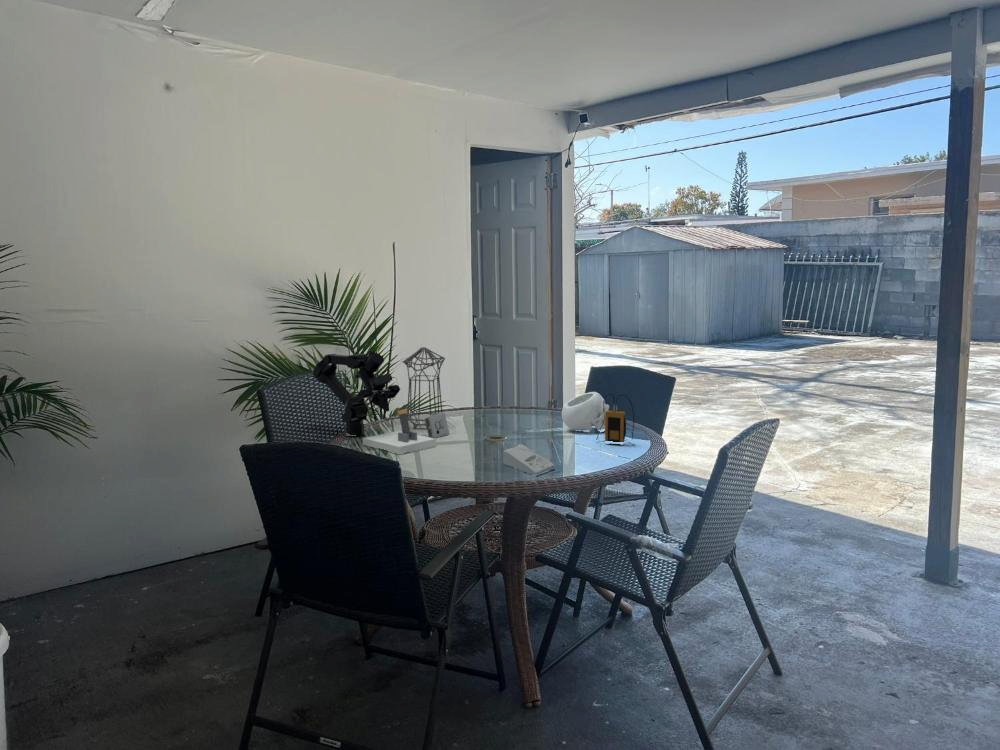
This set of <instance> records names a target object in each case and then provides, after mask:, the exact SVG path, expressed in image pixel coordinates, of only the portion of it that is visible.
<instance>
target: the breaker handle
mask: <svg viewBox="0 0 1000 750" xmlns="http://www.w3.org/2000/svg"><path fill="white" fill-rule="evenodd" d="M397 415H398V416H399V422H400V426H401V427H400V428H401V431H402V433H405V434H408V435H409V437H411V434H410V431H411V429H410V425H409V420H408V418H407V408H405V409H404V408H403V409H399V410H397Z"/></svg>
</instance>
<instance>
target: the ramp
mask: <svg viewBox="0 0 1000 750" xmlns="http://www.w3.org/2000/svg"><path fill="white" fill-rule="evenodd" d="M503 463H504V464H507V465H510V466H513V467H515V468H518V469H521V470H524V471H527V472H530V473H532V474H535V475H536V474H539V473H542V472H544V471H546V470H549V469H551V468H553V467H554V468H555V464H554V463H552V462H551V461H550V460H548V459H547V458H545V457H543V456H541V455H540V454H538V453H536V452H534V451H533V450H532V449H530V448H529V447H527V446H525V445H524V444H523V443H519V444H518V445H516V446H515V447H511V448H507V449H504V450H502V464H503Z"/></svg>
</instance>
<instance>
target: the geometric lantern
mask: <svg viewBox="0 0 1000 750" xmlns="http://www.w3.org/2000/svg"><path fill="white" fill-rule="evenodd" d="M424 355H425V357H424ZM427 355H428V356H427ZM420 356H421V357H420ZM414 359H416V360H415V362H413V360H414ZM424 360H425V362H424ZM428 360H430V361H431V362H428ZM445 360H446V358H445V357H444V356H442V355H439V354H438V353H437V352H434V351H433V350H431V349H430V348H427V347H425V346H424V347H422V346H421V347H420V348H419V349H418V350H416V351H415V352H414V353H412V354H411V355H410V356H408V357H407V358H405V359H404V360H402V363H403V364H405V366H406V368H407V376H408V378H407V379H408V393H407V394H408V395H407V408H406V409H407V418H408V422H410V423H411V424H412V425H413V429H414V430H427V427H423V428H422V427H417V426H426V423H425V424H424V423H421V422H425V419H420V415H429V416H430V415H434V414H439V413H443V404H442V394H441V392H442V391H441V382H440V374H441V373H440V372H441V368H442V365H443V364H444V362H445ZM418 361H419V362H420V363H417V362H418ZM435 365H436V367H437V370H436V367H435ZM416 366H419V367H420V369H416ZM422 366H423V367H422ZM430 367H432V368H433V369H434V371H435V375H433V379H429V377H430V375H427V374H426V373H425V371H424V370H426V369H427V368H430ZM409 368H412V369H413V371H414V374H413V376H410V370H409ZM417 371H418V372H419V371H420V372H419V374H417ZM422 373H423V374H422ZM421 374H422V375H421ZM417 377H418V379H417ZM421 377H425V378H426V379H421ZM412 381H414V392H413V393H414V396H413V411H412ZM417 381H418V412H416V411H415V410H416V393H417V391H416V389H417ZM435 381H437V382H436V387H437V388H436V389H437V390H436V389H435ZM421 382H428V397H429V401H428V402H429V412H421ZM431 382H432V389H433V405H434V412H432V402H431V401H432V400H431ZM436 391H437V405H436ZM412 412H413V413H412ZM416 415H417V416H416ZM412 417H414V418H412ZM414 421H415V422H414Z"/></svg>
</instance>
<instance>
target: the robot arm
mask: <svg viewBox="0 0 1000 750" xmlns="http://www.w3.org/2000/svg"><path fill="white" fill-rule="evenodd" d="M384 362H385V359H384V356H382V354H380V353H377V352H376V351H375V350H371V351H369V353H368V355H367V354H366V353H359V354H351V355H346V354H345V355H344V354H336V353H330V354H329V353H327V354H325V355H324V356H323V358H322V359H321V360H320V361H318V362H317V364H316V365H315V367H314V368H313V371H312V375H313V377H314V379H316V380H317V382H319V383H322V384H323V385H327V387H328V388H329V389H330V390H331V391H332V393H333V394H334V395H335V396H336V397H337V399H338V400H339V401H340V402H341V403H342V404H343V407H344V409H343V410H344V412H343V414H342V415H341V419H342V422H344V423H345V429H346V431H345V432H346V433H348V434H350V435H356V436H360V437H362V436H364V435H366V432H365V424H364V421H366V420H367V417H368V413H369V408H368V406H367V404H366V403H367V402H365V399H369V398H370V401H369V403H370V404H373V405H375V406H377V407H378V408H380V409H382V410H383V411H385V412H389V411H390V406H389V400H390V399H394V398H396V396H397V395H398V394H399V392H400V391H401V388H400V386H399V384H392V385H390V384H389V383H391V382H392V381H393V377H392V374H391V373H390V372H388V373H385V374H382V375H381V374H380V375H378V376H376V374H375V373H378V371H379V369H380V367H382V365H383V363H384ZM337 365H338V366H339V365H342V366H347V368H348V369H351V370H358V369H359V370H358V371H356V374H355V379H360V380H361V382H362V383H363V386H362V389H360V390H359V391H358V393H357V394H356V396H355V397H354V396H353V395H352V394H351V393H350V392H349V391H348V389H347V388H346V387H345V386H344V385H343V384H342V382H341V381H340V380H339V379H338V377H337V369H338V366H337ZM387 384H389V385H388V387H387V386H386V385H387ZM386 387H387V388H386ZM385 388H386V389H385ZM346 433H345V434H346ZM363 434H364V435H363ZM361 435H362V436H361Z"/></svg>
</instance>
